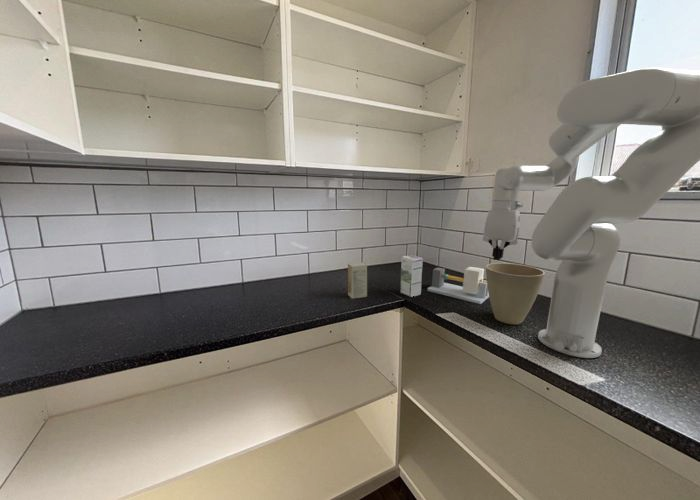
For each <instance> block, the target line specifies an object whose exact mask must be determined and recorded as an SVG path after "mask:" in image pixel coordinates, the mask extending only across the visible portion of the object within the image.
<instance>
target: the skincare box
mask: <svg viewBox="0 0 700 500" xmlns="http://www.w3.org/2000/svg"><path fill="white" fill-rule="evenodd" d="M347 295H348V297H349V298H350V299H353V300H354V299H360V298H366V297H368V265H367V264H366V263H364V262H355V263H352V262H351V263H348V264H347Z"/></svg>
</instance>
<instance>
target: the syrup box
mask: <svg viewBox="0 0 700 500" xmlns="http://www.w3.org/2000/svg"><path fill="white" fill-rule="evenodd" d="M423 261H424V260H423V257H420V256H416V255H413V254H412V255H411V254H410V255H404V256H401V262H400V263H401V267H400V291H399V293H400V294H403V295H405V296H406V297H408V298H409V297H410V298H413V296H414V297H417V296H420V295H421V294H422V276H423V275H422V273H423Z"/></svg>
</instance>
